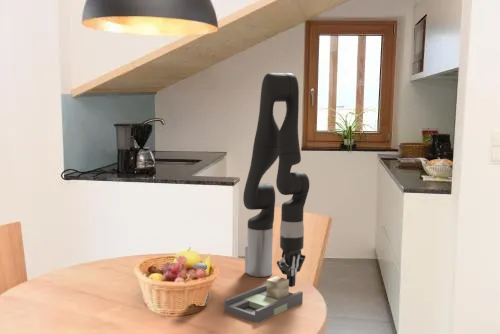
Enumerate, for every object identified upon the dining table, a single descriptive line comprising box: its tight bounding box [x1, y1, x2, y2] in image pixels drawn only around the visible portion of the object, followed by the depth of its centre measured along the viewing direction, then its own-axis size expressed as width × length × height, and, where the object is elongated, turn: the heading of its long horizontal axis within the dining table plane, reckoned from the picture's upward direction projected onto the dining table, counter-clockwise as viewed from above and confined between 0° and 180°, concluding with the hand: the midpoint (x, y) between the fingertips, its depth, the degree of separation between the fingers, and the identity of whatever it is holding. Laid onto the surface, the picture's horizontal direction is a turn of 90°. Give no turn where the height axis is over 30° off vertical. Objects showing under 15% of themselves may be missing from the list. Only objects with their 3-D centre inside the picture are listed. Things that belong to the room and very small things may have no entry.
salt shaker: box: [192, 261, 210, 306], centre depth 168 cm, size 6×6×13 cm
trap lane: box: [223, 283, 304, 324], centre depth 167 cm, size 13×22×4 cm, turn 139°
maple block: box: [266, 275, 290, 299], centre depth 171 cm, size 5×5×5 cm
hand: (290, 286), depth 177 cm, fingers closed
